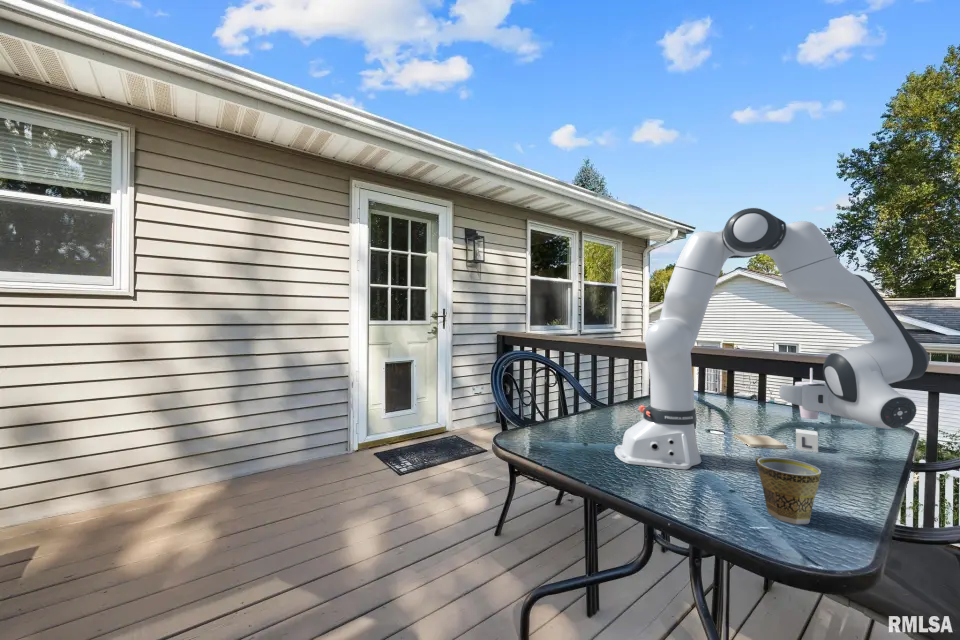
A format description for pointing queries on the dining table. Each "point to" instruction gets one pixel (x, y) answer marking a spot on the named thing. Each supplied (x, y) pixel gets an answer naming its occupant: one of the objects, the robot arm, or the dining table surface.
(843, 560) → the dining table surface
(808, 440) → the letter cube
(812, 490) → the ceramic cup
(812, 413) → the smoothie
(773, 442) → the maple pad
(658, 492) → the dining table surface
